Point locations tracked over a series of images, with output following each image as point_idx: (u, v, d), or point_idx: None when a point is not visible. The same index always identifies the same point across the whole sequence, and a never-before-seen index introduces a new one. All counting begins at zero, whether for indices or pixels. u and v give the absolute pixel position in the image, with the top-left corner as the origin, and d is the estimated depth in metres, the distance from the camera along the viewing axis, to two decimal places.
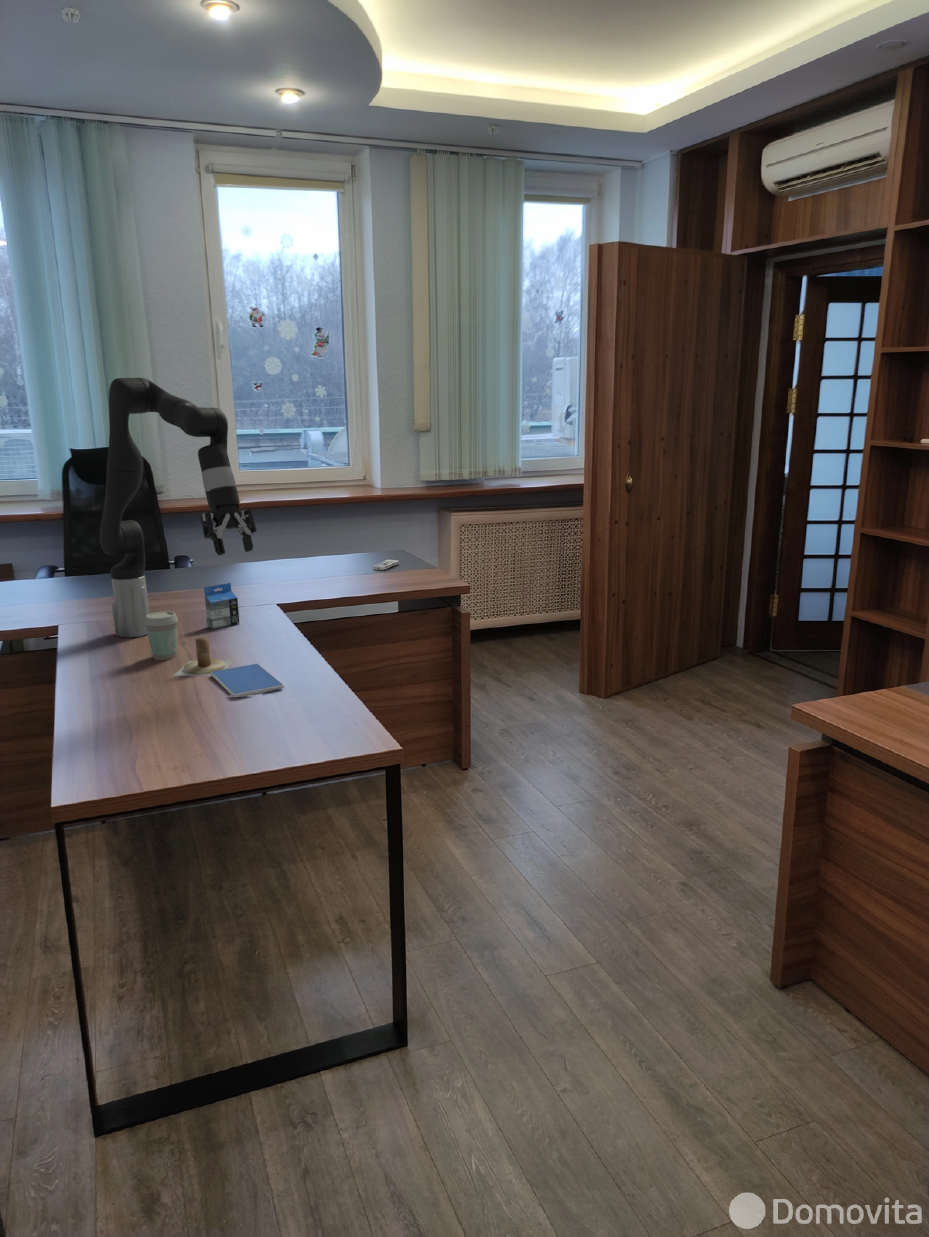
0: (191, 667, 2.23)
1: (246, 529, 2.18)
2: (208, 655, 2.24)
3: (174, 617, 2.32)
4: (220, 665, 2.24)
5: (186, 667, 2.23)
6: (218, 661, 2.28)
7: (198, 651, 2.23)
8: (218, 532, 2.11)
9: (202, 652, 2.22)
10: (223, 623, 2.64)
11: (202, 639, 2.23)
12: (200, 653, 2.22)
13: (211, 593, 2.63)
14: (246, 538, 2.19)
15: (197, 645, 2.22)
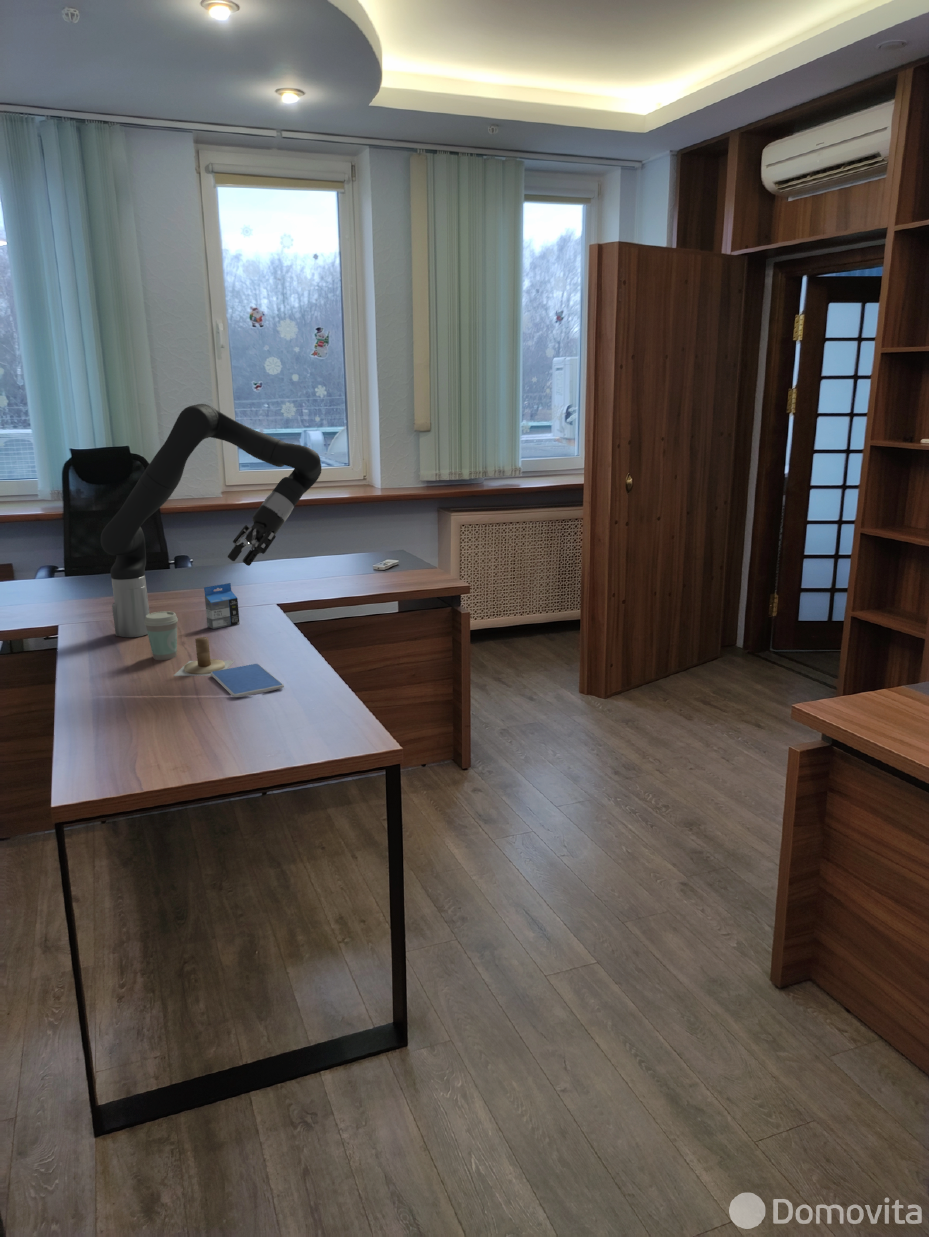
0: (191, 667, 2.23)
1: None
2: (208, 655, 2.24)
3: (174, 617, 2.32)
4: (220, 665, 2.24)
5: (186, 667, 2.23)
6: (218, 661, 2.28)
7: (198, 651, 2.23)
8: None
9: (202, 652, 2.22)
10: (223, 623, 2.64)
11: (202, 639, 2.23)
12: (200, 653, 2.22)
13: (211, 593, 2.63)
14: (239, 551, 2.34)
15: (197, 645, 2.22)
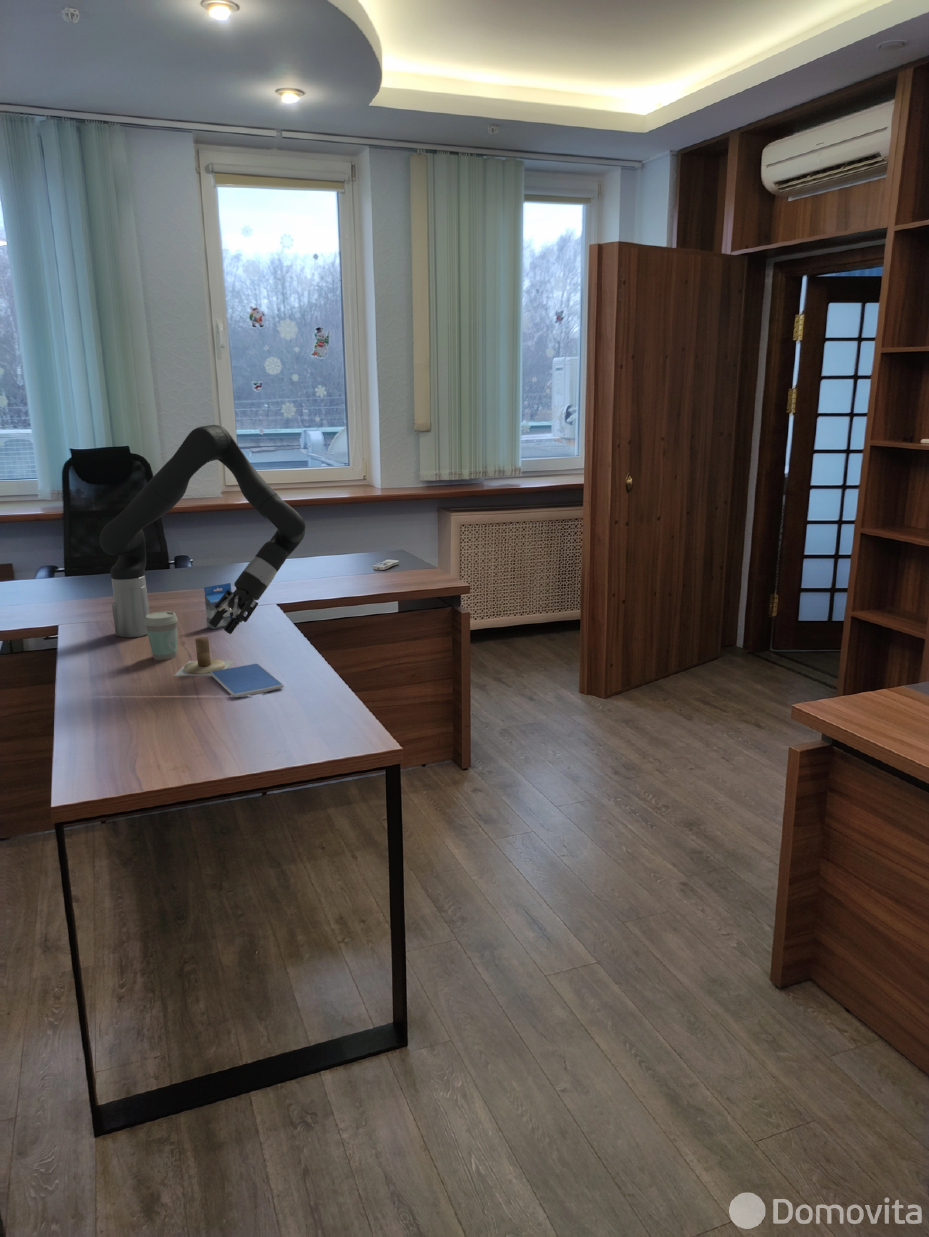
0: (191, 667, 2.23)
1: None
2: (208, 655, 2.24)
3: (174, 617, 2.32)
4: (220, 665, 2.24)
5: (186, 667, 2.23)
6: (218, 661, 2.28)
7: (198, 651, 2.23)
8: None
9: (202, 652, 2.22)
10: (223, 623, 2.64)
11: (202, 639, 2.23)
12: (200, 653, 2.22)
13: (211, 593, 2.63)
14: (221, 617, 2.30)
15: (197, 645, 2.22)
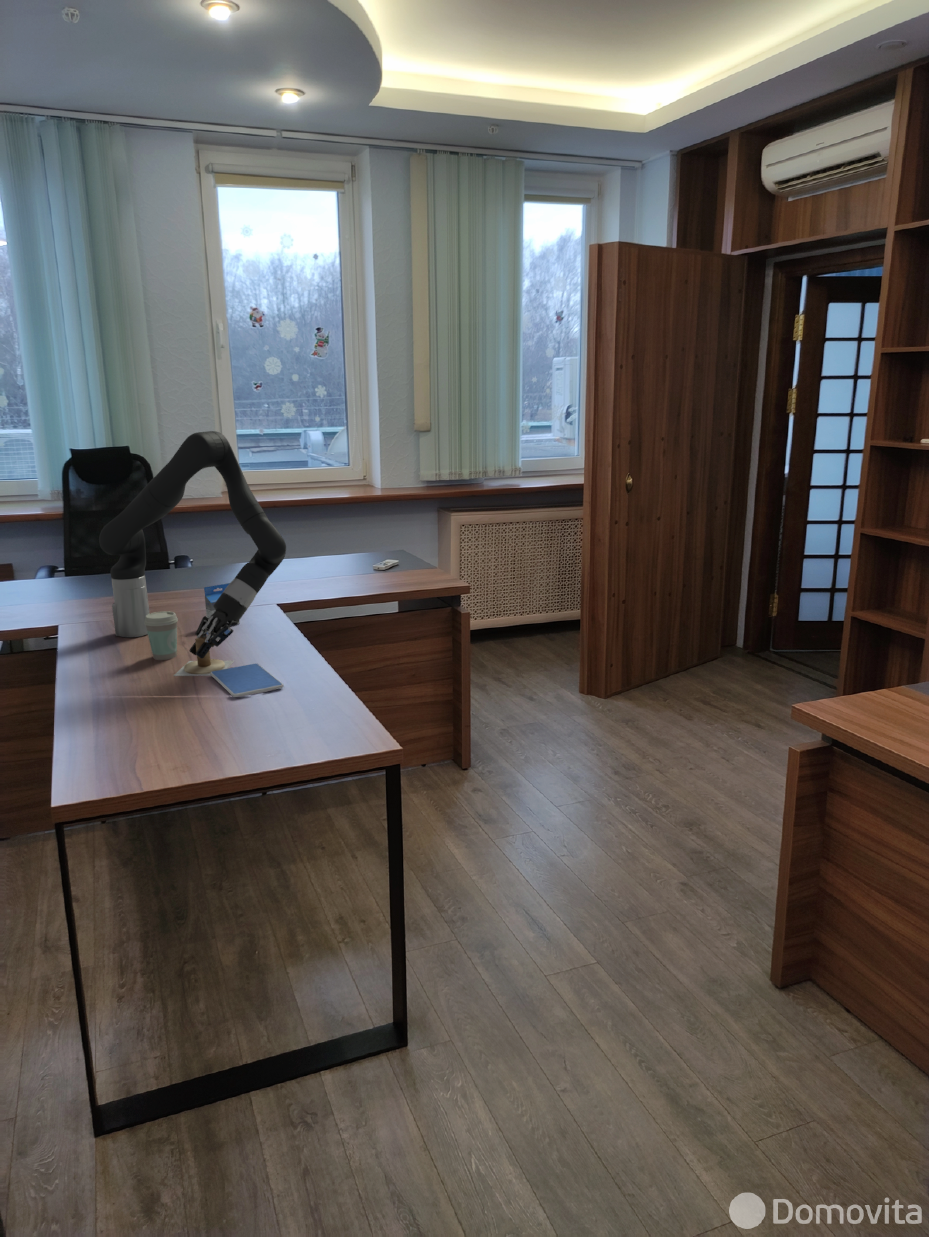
0: (191, 667, 2.23)
1: None
2: (208, 655, 2.24)
3: (174, 617, 2.32)
4: (220, 665, 2.24)
5: (186, 667, 2.23)
6: (218, 661, 2.28)
7: None
8: None
9: None
10: None
11: (202, 639, 2.23)
12: None
13: (211, 593, 2.63)
14: None
15: (197, 645, 2.22)
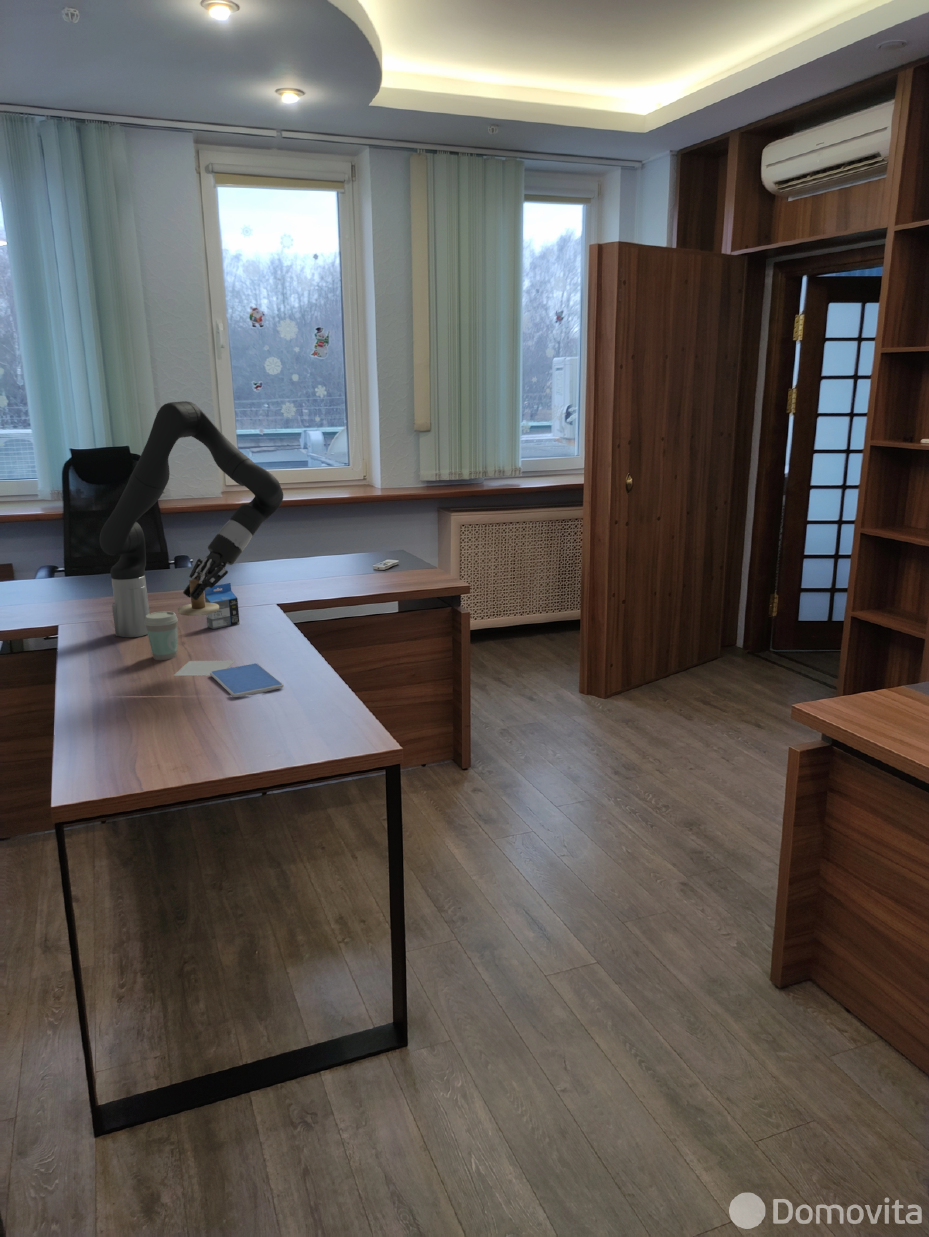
0: (185, 609, 2.19)
1: None
2: (202, 597, 2.20)
3: (174, 617, 2.32)
4: (214, 607, 2.20)
5: (180, 609, 2.19)
6: (212, 604, 2.24)
7: None
8: None
9: None
10: (223, 623, 2.64)
11: (196, 580, 2.19)
12: None
13: (211, 593, 2.63)
14: None
15: (191, 586, 2.18)
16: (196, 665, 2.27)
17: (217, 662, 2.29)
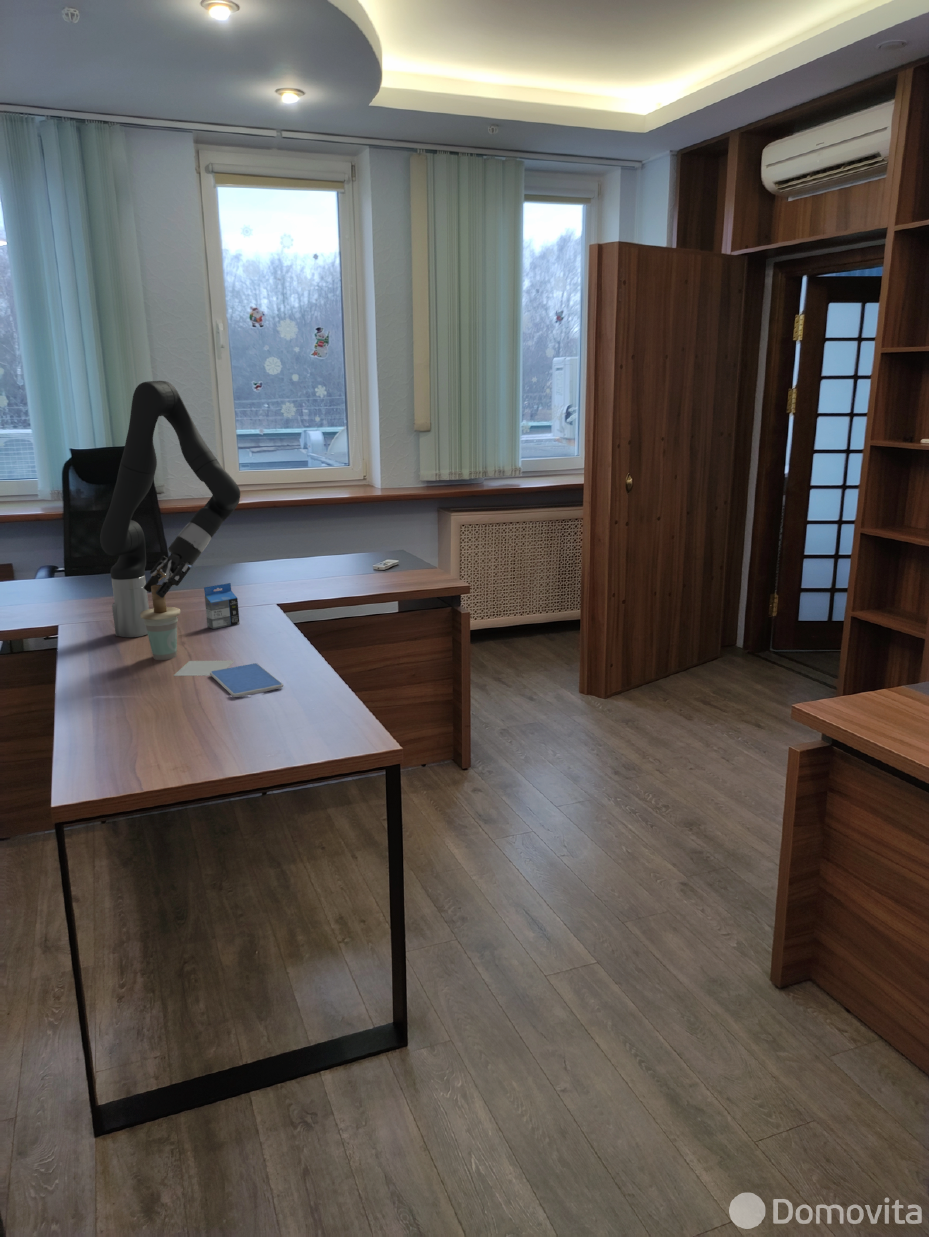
0: (147, 613, 2.30)
1: None
2: (164, 602, 2.31)
3: (174, 617, 2.32)
4: (175, 612, 2.32)
5: (142, 613, 2.31)
6: (174, 608, 2.35)
7: (154, 598, 2.30)
8: None
9: (157, 598, 2.30)
10: (223, 623, 2.64)
11: (157, 586, 2.30)
12: (155, 600, 2.30)
13: (211, 593, 2.63)
14: (155, 582, 2.34)
15: (153, 592, 2.29)
16: (196, 665, 2.27)
17: (217, 662, 2.29)
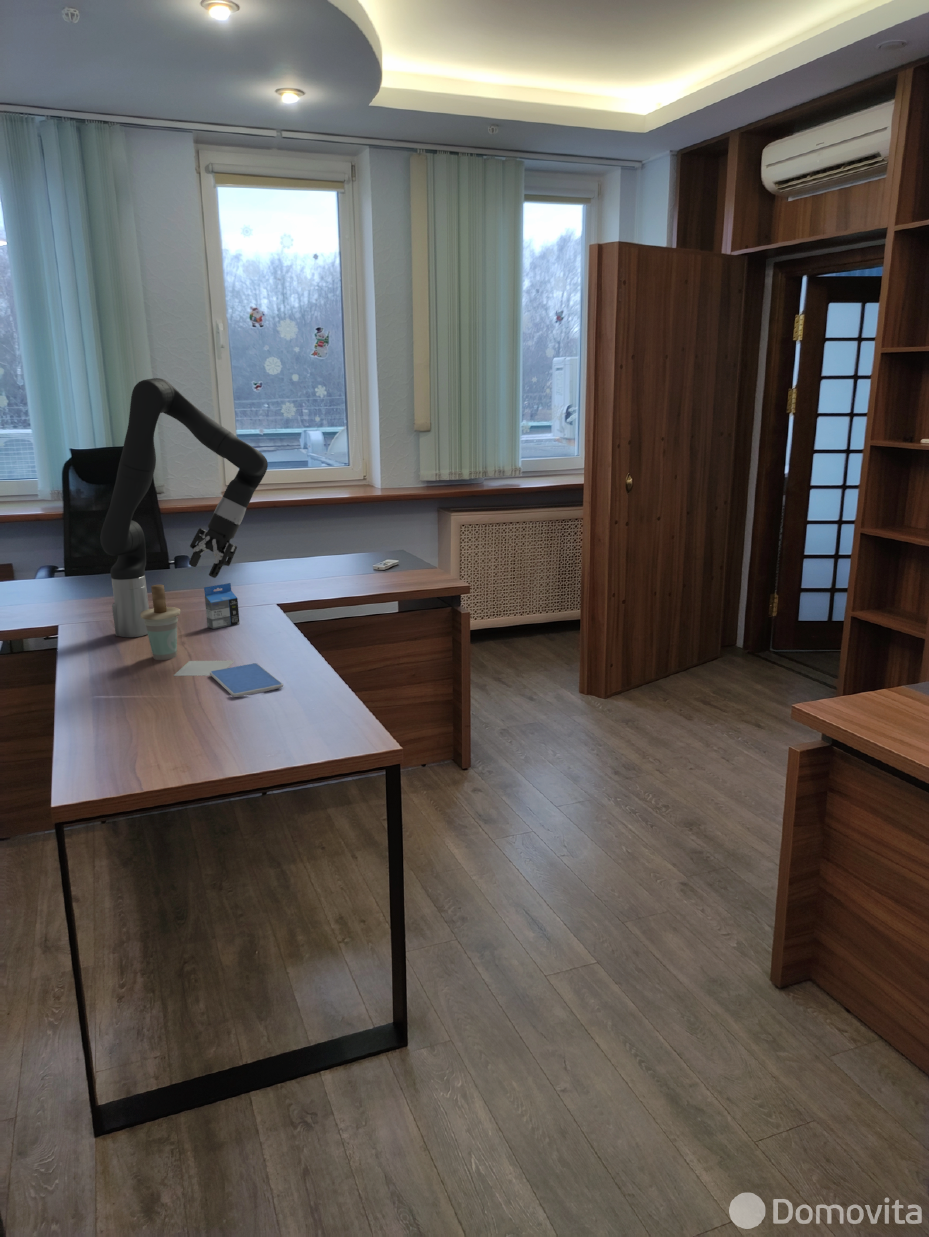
0: (147, 613, 2.30)
1: None
2: (164, 602, 2.31)
3: (174, 617, 2.32)
4: (175, 612, 2.32)
5: (142, 613, 2.31)
6: (174, 608, 2.35)
7: (154, 598, 2.30)
8: None
9: (158, 598, 2.30)
10: (223, 623, 2.64)
11: (158, 586, 2.30)
12: (155, 600, 2.30)
13: (211, 593, 2.63)
14: (199, 556, 2.42)
15: (153, 592, 2.29)
16: (196, 665, 2.27)
17: (217, 662, 2.29)
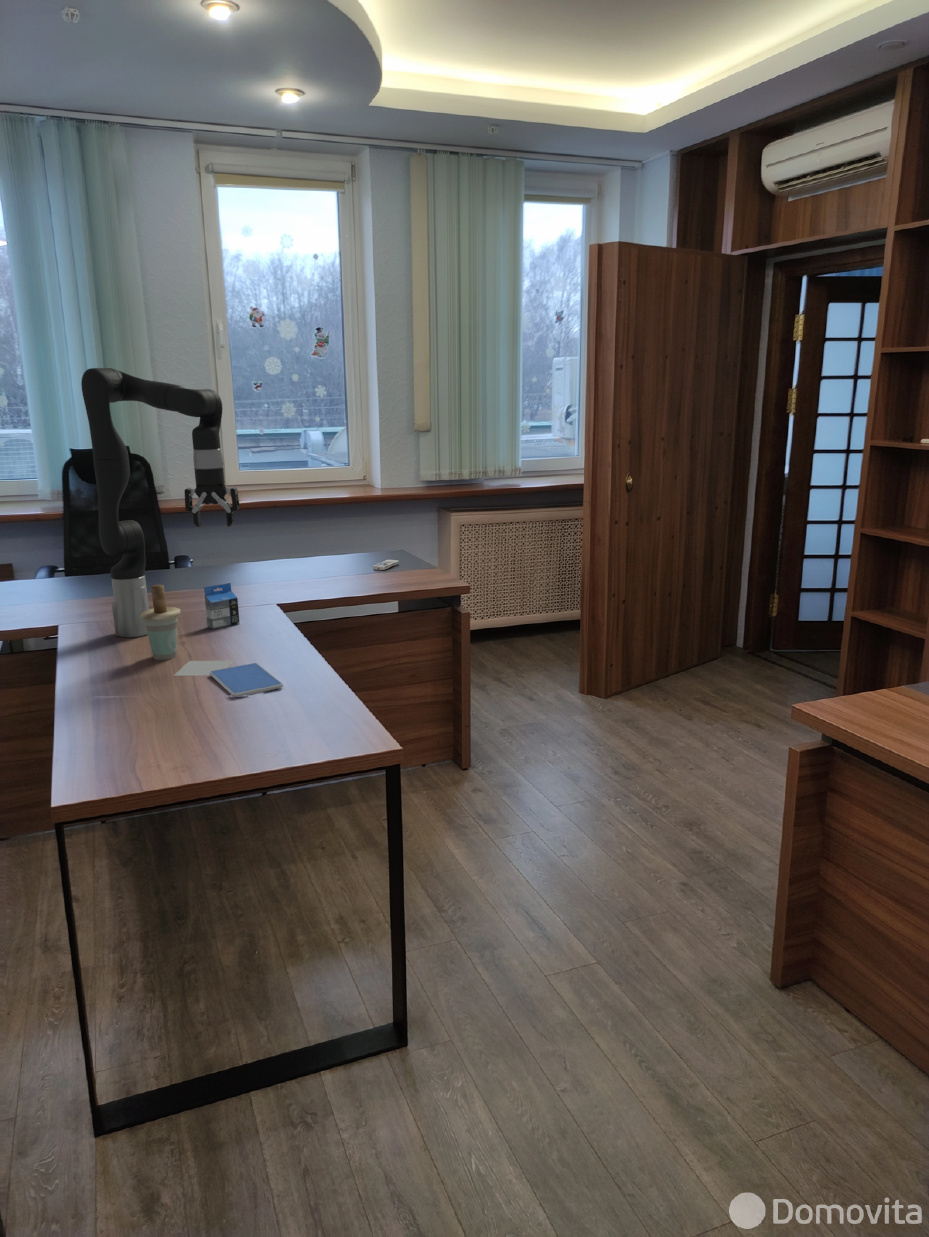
0: (147, 613, 2.30)
1: None
2: (164, 602, 2.31)
3: (174, 617, 2.32)
4: (175, 612, 2.32)
5: (142, 613, 2.31)
6: (174, 609, 2.35)
7: (154, 598, 2.30)
8: None
9: (157, 598, 2.30)
10: (223, 623, 2.64)
11: (158, 586, 2.30)
12: (155, 600, 2.30)
13: (211, 593, 2.63)
14: (199, 514, 2.40)
15: (153, 592, 2.29)
16: (196, 665, 2.27)
17: (217, 662, 2.29)
